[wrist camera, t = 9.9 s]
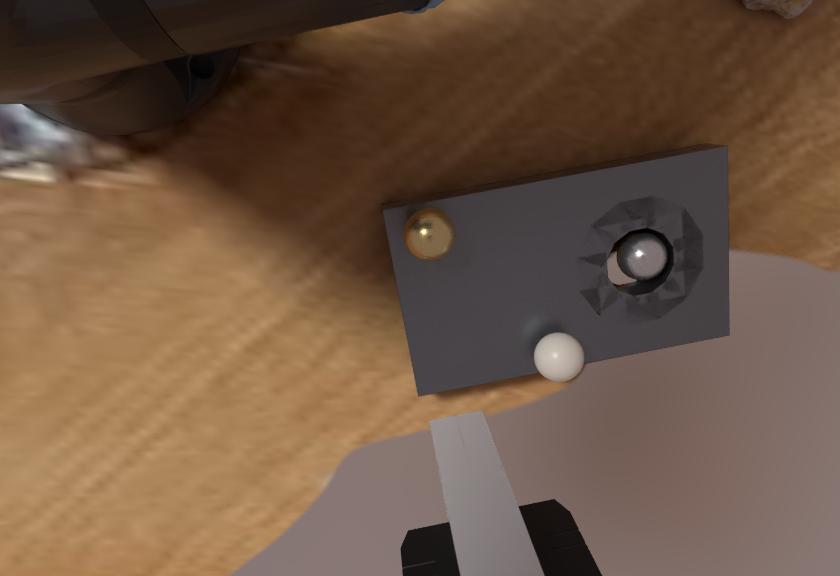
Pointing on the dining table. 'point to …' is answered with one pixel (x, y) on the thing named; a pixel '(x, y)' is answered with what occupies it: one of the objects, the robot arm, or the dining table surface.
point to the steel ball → (642, 256)
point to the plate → (565, 266)
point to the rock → (779, 6)
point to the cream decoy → (559, 357)
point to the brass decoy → (429, 235)
